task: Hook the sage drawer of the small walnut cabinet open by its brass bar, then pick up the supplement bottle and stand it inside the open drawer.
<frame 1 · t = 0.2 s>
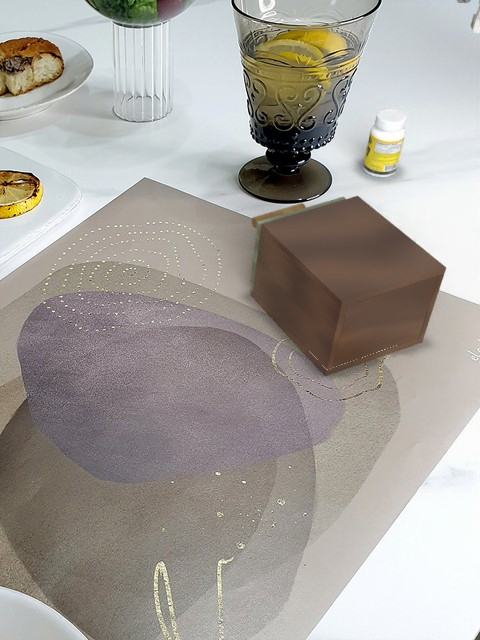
hand: (469, 15, 108), 22 cm above the table, tool pointing down, fingers open, 8 cm apart
supplement bottle: (378, 170, 124), on the table
drawer: (318, 261, 101), point 5 cm above the table, slide at 0.5 cm
cabinet: (334, 318, 102), on the table
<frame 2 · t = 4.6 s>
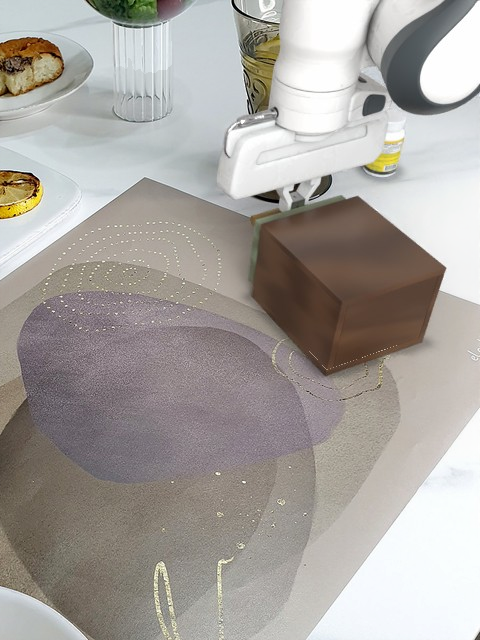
hand: (292, 209, 102), 9 cm above the table, tool pointing down, fingers closed
drawer: (316, 259, 101), point 5 cm above the table, slide at 0.9 cm
everything else where it was.
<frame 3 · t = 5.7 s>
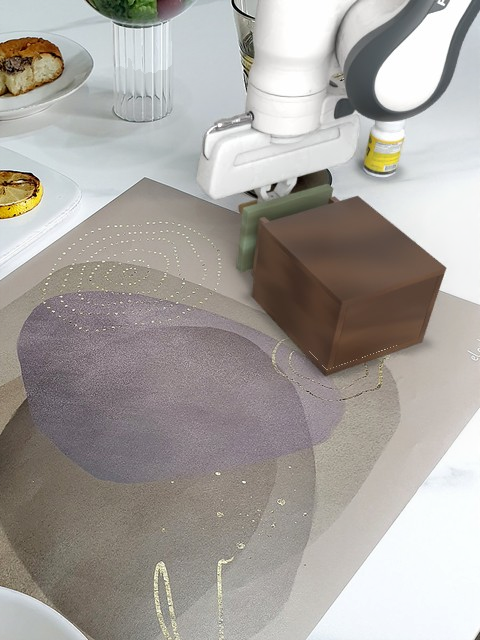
hand: (270, 208, 107), 6 cm above the table, tool pointing down, fingers closed, pressing on drawer
drawer: (303, 246, 103), point 5 cm above the table, slide at 3.8 cm, touching gripper
everything else where it was.
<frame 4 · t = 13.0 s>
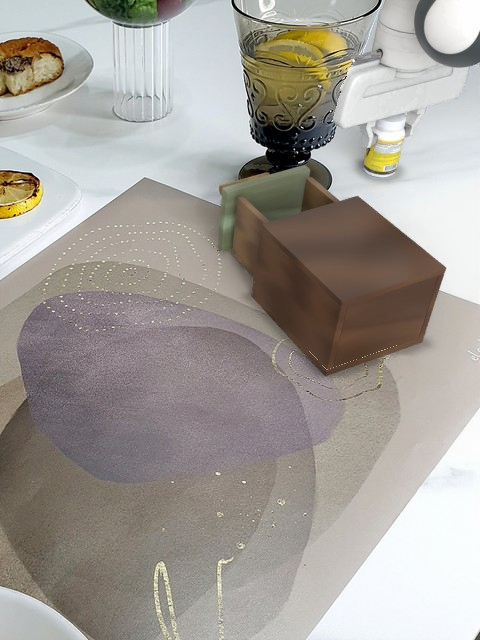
hand: (386, 140, 121), 5 cm above the table, tool pointing down, fingers closed on supplement bottle, 5 cm apart
supplement bottle: (378, 170, 124), on the table, touching gripper
drawer: (281, 226, 106), point 5 cm above the table, slide at 8.6 cm
when the fingers open (10 cm above the table, at t = 20.9 s): supplement bottle stays where it is, resting on drawer.
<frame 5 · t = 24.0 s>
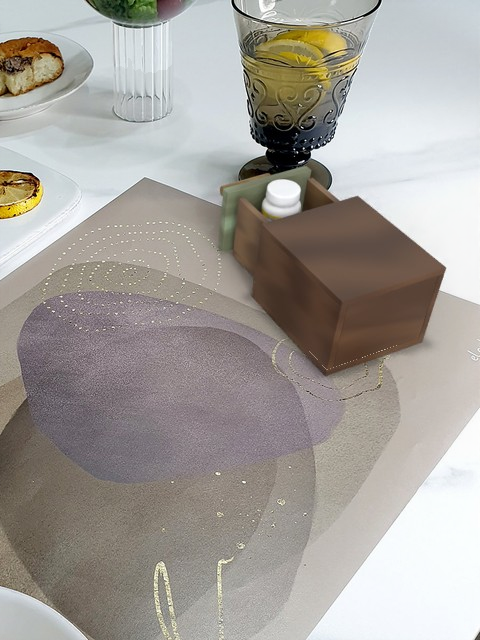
supplement bottle: (275, 247, 109), point 2 cm above the table, touching drawer
drawer: (282, 226, 106), point 5 cm above the table, slide at 8.4 cm, touching supplement bottle
at the end: drawer slide at 8.4 cm; supplement bottle inside the target area in the drawer (0.3 cm from its centre), point 1.8 cm above the cabinet's base; supplement bottle tilted 0° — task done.
